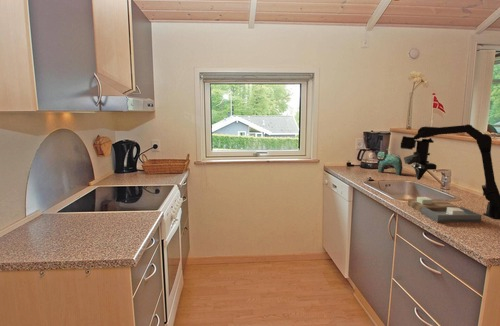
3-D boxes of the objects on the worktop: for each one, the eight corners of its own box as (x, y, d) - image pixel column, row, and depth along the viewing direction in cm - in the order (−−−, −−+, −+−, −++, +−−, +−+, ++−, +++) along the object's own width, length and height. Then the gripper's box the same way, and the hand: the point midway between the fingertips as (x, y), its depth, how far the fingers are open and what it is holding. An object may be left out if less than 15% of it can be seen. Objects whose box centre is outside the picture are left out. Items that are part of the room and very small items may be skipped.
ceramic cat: (375, 172, 261) (377, 148, 257) (379, 171, 265) (381, 147, 262) (399, 175, 246) (401, 150, 242) (403, 174, 250) (405, 149, 247)
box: (480, 222, 142) (481, 215, 142) (437, 222, 142) (438, 215, 141) (460, 213, 155) (461, 206, 155) (421, 213, 154) (421, 206, 154)
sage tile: (431, 204, 160) (432, 199, 159) (422, 204, 160) (422, 199, 159) (426, 201, 165) (426, 196, 164) (416, 201, 165) (417, 196, 164)
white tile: (463, 215, 147) (464, 210, 146) (452, 215, 147) (452, 210, 147) (457, 212, 152) (457, 207, 151) (446, 212, 152) (447, 207, 152)
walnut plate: (458, 213, 155) (459, 207, 155) (422, 213, 155) (423, 207, 154) (440, 204, 169) (441, 199, 168) (407, 205, 168) (408, 199, 168)
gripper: (398, 147, 174) (395, 175, 176) (417, 152, 155) (413, 183, 158) (417, 148, 174) (414, 175, 177) (439, 153, 156) (434, 184, 159)
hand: (418, 179), depth 168 cm, fingers closed
